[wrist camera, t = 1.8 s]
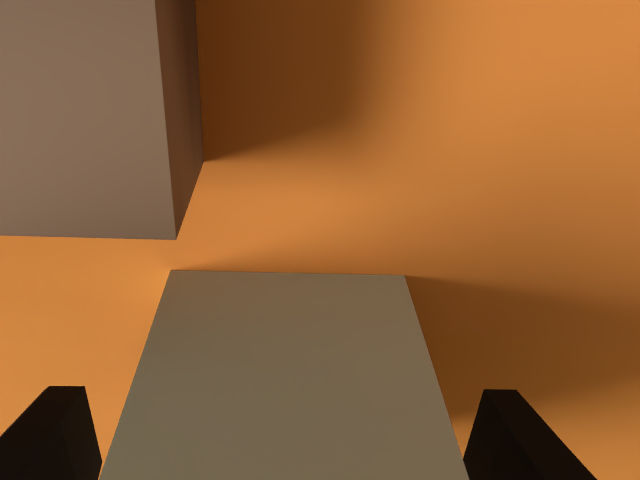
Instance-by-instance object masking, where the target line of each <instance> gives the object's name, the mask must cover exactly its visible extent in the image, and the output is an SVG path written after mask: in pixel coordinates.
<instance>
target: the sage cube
mask: <svg viewBox="0 0 640 480" xmlns="http://www.w3.org/2000/svg"><path fill="white" fill-rule="evenodd" d="M99 480H469V477H468V474H467V471H466V468H465V465H464V462H463V458H462V455H461V452H460V449H459V446H458V443H457V440H456V436H455V433H454V430H453V427H452V424H451V421H450V418H449V414H448V411H447V408H446V405H445V402H444V399H443V396H442V392H441V389H440V386H439V383H438V380H437V377H436V374H435V370H434V367H433V364H432V361H431V358H430V355H429V351H428V348H427V345H426V342H425V339H424V336H423V333H422V329H421V326H420V323H419V320H418V317H417V314H416V311H415V307H414V304H413V301H412V298H411V295H410V292H409V289H408V285H407V282H406V279H405V276H404V275H370V274H323V273H276V272H228V271H181V270H171V271H170V273H169V276H168V279H167V282H166V285H165V288H164V291H163V294H162V297H161V300H160V303H159V306H158V309H157V312H156V314H155V317H154V320H153V323H152V326H151V329H150V332H149V335H148V338H147V341H146V344H145V347H144V350H143V353H142V355H141V358H140V361H139V364H138V367H137V370H136V373H135V376H134V379H133V382H132V385H131V388H130V391H129V394H128V396H127V399H126V402H125V405H124V408H123V411H122V414H121V417H120V420H119V423H118V426H117V429H116V432H115V434H114V437H113V440H112V443H111V446H110V449H109V452H108V455H107V458H106V461H105V464H104V467H103V470H102V473H101V475H100V478H99Z"/></svg>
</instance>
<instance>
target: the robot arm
mask: <svg viewBox="0 0 640 480" xmlns="http://www.w3.org/2000/svg"><path fill="white" fill-rule="evenodd" d="M463 462H464V465H465V468H466V471H467V474H468V477H469V480H597V479H596V478H595V477H594V476H593V475H592V474H591V473H590V472H589V470H588V469H587V468H586V467H585V466H584V465H583V464H582V463H581V462H580V461H579V460H578V458H577V457H576V456H575V455H574V454H573V453H572V452H571V451H570V450H569V448H568V447H567V446H566V445H565V444H564V443H563V442H562V441H561V440H560V438H559V437H558V436H557V435H556V434H555V433H554V432H553V431H552V429H551V428H550V427H549V426H548V425H547V424H546V423H545V422H544V420H543V419H542V418H541V417H540V416H539V415H538V414H537V413H536V411H535V410H534V409H533V408H532V407H531V406H530V405H529V404H528V402H527V401H526V400H525V399H524V398H523V397H522V396H521V395H520V394H519V392H518V391H517V390H493V389H484V391H483V394H482V398H481V401H480V404H479V408H478V411H477V414H476V418H475V421H474V424H473V428H472V431H471V434H470V438H469V441H468V444H467V448H466V451H465V454H464V458H463ZM101 465H102V459H101V454H100V450H99V446H98V441H97V437H96V433H95V429H94V424H93V420H92V416H91V411H90V407H89V403H88V399H87V394H86V390H85V386H49V387H48V388H46V389H45V390H44V391H43V392H42V393H41V394H40V395H39V396H38V397H37V398H36V399H35V400H34V401H33V403H32V404H31V405H30V406H29V407H28V408H27V409H26V410H25V411H24V412H23V413H22V414H21V415H20V416H19V417H18V418H17V419H16V420H15V421H14V423H13V424H12V425H11V426H10V427H9V428H8V429H7V430H6V431H5V432H4V433H3V434H2V435H1V436H0V480H98V477H99V473H100V469H101Z"/></svg>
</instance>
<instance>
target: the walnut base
mask: <svg viewBox="0 0 640 480" xmlns="http://www.w3.org/2000/svg"><path fill="white" fill-rule="evenodd" d="M203 162H204V160H203V142H202V123H201V105H200V86H199V68H198V50H197V31H196V13H195V0H0V235H6V236H45V237H83V238H122V239H160V240H176V239H177V236H178V233H179V230H180V227H181V225H182V222H183V219H184V216H185V213H186V210H187V208H188V205H189V202H190V199H191V196H192V193H193V190H194V188H195V185H196V182H197V179H198V176H199V173H200V171H201V168H202V165H203Z"/></svg>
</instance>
